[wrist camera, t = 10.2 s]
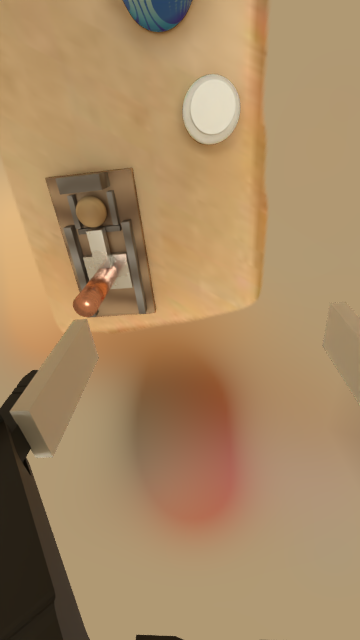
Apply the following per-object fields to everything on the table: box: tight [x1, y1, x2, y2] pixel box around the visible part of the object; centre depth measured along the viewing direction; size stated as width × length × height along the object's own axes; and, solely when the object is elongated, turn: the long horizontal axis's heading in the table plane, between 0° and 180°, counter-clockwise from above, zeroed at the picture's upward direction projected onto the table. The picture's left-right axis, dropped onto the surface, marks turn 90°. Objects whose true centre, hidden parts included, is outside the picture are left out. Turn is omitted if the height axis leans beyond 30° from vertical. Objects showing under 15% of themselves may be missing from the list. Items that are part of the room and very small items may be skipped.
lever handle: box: [73, 227, 133, 317], centre depth 44 cm, size 10×7×13 cm
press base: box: [45, 168, 156, 317], centre depth 48 cm, size 24×13×6 cm, turn 6°
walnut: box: [76, 196, 107, 227], centre depth 44 cm, size 4×4×4 cm
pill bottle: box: [182, 74, 240, 145], centre depth 35 cm, size 6×6×12 cm
